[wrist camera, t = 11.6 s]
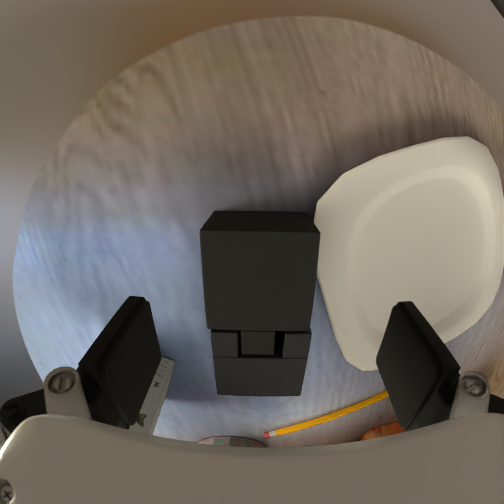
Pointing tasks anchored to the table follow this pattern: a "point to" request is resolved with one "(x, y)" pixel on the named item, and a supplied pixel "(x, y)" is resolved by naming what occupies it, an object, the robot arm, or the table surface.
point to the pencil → (327, 416)
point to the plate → (411, 242)
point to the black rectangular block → (259, 274)
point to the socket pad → (260, 364)
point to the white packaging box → (154, 398)
